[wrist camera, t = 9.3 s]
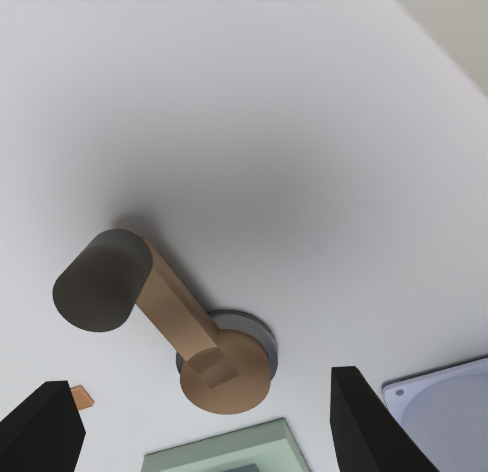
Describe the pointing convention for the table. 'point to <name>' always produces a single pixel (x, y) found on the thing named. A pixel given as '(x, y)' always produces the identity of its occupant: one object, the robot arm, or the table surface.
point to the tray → (234, 452)
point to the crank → (163, 319)
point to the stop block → (245, 469)
